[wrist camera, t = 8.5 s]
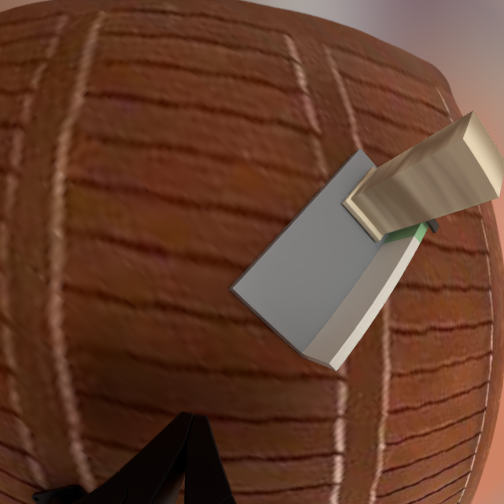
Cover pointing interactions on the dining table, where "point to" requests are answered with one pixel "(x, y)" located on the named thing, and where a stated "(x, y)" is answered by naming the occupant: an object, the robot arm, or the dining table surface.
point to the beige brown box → (430, 180)
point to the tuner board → (327, 272)
